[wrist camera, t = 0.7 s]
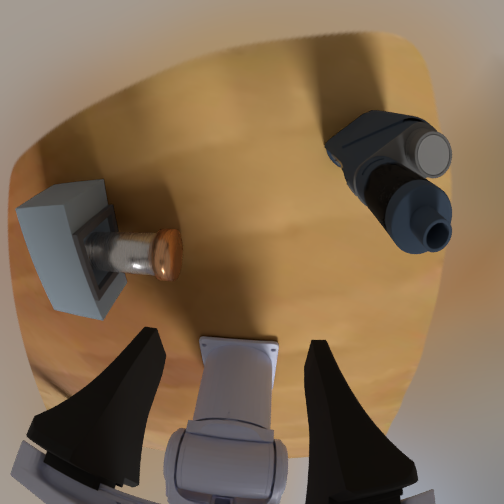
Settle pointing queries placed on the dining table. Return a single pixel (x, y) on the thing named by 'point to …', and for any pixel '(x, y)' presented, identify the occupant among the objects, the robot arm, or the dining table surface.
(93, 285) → the sleeve block
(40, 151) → the dining table surface
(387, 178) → the vaping device
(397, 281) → the dining table surface
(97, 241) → the peg
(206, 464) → the robot arm
